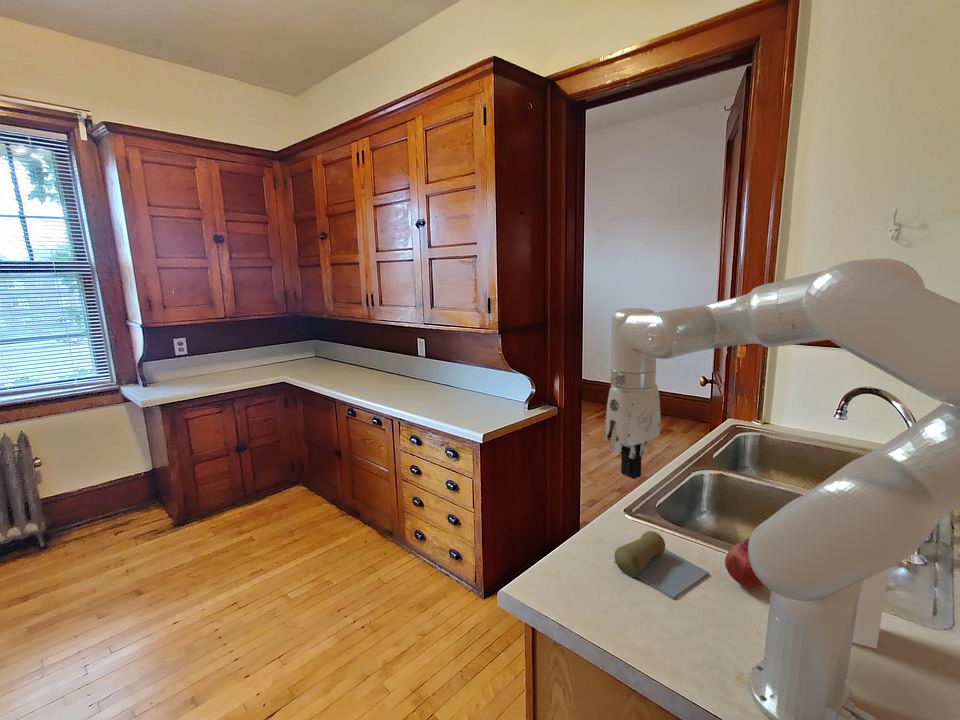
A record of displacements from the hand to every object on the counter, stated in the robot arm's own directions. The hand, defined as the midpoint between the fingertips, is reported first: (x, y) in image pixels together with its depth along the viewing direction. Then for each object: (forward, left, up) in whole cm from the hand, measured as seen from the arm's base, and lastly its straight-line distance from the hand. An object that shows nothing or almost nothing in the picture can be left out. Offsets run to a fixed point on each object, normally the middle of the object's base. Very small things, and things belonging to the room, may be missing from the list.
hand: (631, 475), depth 86 cm
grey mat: (0, -11, -24) cm, 27 cm away
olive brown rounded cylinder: (+3, -3, -21) cm, 22 cm away
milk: (-29, -22, -25) cm, 44 cm away
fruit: (-13, -20, -25) cm, 34 cm away
